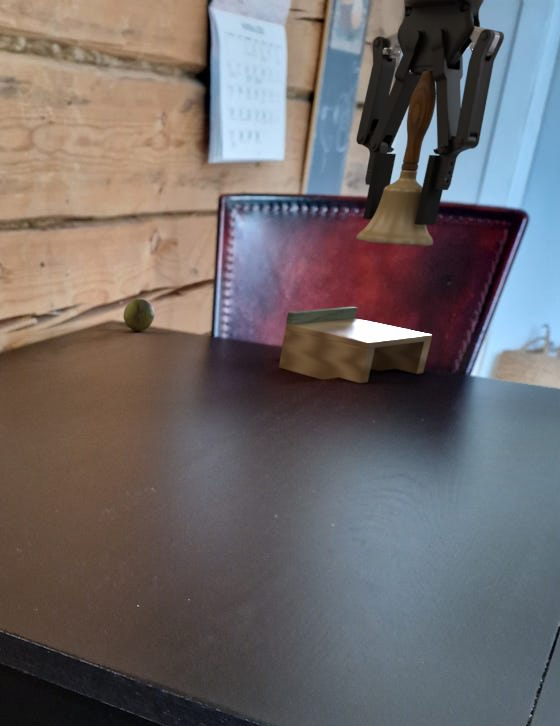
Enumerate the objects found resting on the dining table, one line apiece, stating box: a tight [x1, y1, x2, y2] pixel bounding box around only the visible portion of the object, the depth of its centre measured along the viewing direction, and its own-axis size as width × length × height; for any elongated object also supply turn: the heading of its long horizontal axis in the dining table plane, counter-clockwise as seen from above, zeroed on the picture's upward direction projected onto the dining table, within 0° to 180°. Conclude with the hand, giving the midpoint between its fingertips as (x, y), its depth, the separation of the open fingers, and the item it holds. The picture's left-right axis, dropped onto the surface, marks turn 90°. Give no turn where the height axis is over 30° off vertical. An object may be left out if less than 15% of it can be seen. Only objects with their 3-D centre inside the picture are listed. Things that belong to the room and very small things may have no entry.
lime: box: [122, 298, 155, 332], centre depth 139 cm, size 4×5×5 cm
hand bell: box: [355, 71, 436, 247], centre depth 92 cm, size 8×8×16 cm
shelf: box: [278, 306, 433, 384], centre depth 119 cm, size 14×14×8 cm
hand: (398, 221), depth 95 cm, fingers closed on hand bell, 6 cm apart
